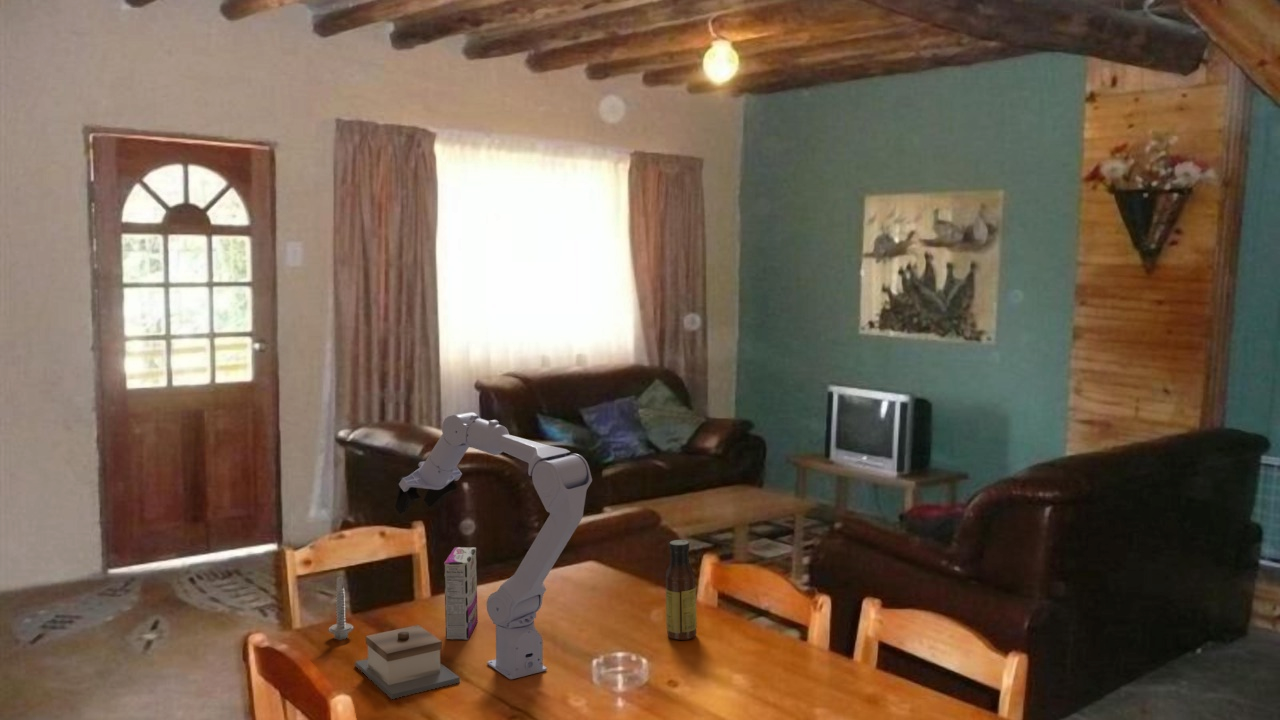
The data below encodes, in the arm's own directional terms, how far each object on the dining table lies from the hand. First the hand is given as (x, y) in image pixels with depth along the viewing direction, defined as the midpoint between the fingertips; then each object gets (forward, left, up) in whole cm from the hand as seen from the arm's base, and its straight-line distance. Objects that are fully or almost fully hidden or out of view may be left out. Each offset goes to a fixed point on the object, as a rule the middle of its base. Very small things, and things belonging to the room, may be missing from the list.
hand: (413, 506), depth 213 cm
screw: (+7, +13, -27) cm, 31 cm away
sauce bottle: (-31, -45, -27) cm, 61 cm away
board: (-18, +9, -27) cm, 34 cm away
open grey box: (-18, +10, -27) cm, 34 cm away
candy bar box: (-3, -9, -27) cm, 29 cm away
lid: (-18, +10, -21) cm, 30 cm away
